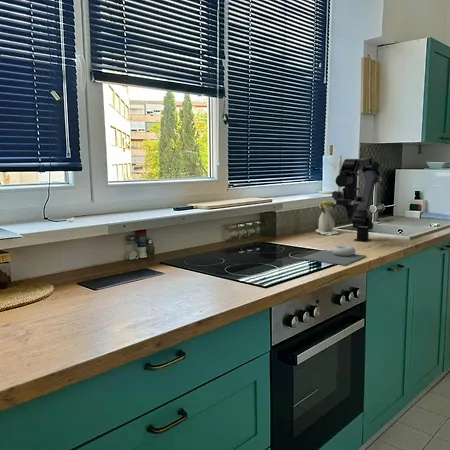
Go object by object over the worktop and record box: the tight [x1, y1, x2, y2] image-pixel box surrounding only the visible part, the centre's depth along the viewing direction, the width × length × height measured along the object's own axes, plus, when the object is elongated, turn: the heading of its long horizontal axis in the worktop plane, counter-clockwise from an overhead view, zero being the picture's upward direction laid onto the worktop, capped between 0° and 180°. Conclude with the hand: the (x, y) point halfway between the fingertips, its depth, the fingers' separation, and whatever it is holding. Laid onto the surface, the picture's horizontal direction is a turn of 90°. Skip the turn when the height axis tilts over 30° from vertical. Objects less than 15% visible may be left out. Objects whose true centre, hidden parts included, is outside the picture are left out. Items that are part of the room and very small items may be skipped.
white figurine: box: [315, 200, 340, 236], centre depth 247 cm, size 12×13×18 cm
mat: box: [300, 249, 367, 267], centre depth 189 cm, size 20×20×1 cm
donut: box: [331, 244, 357, 256], centre depth 193 cm, size 10×4×10 cm
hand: (349, 218), depth 213 cm, fingers closed
